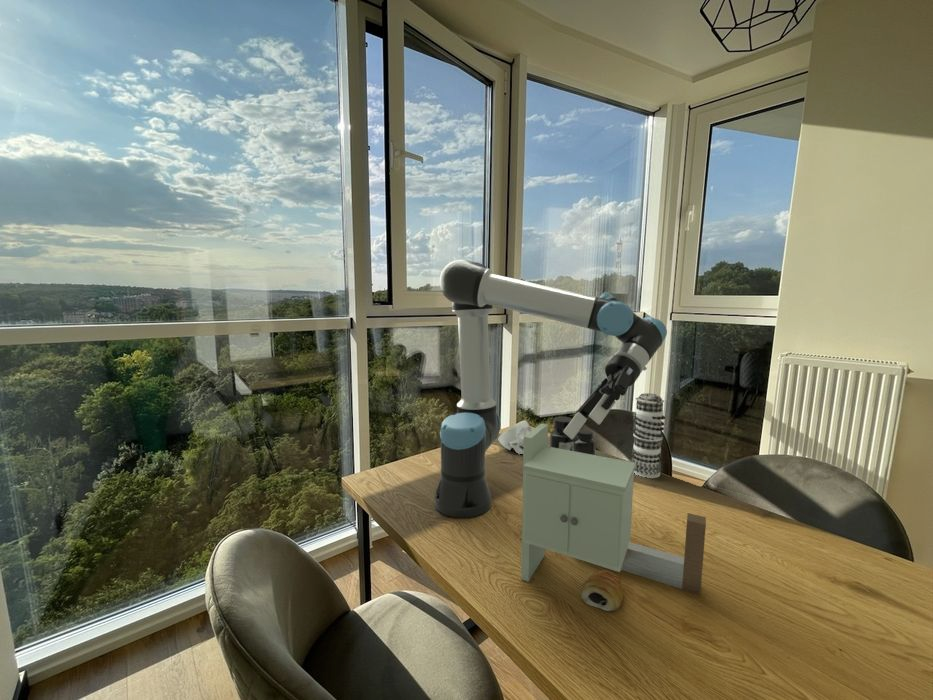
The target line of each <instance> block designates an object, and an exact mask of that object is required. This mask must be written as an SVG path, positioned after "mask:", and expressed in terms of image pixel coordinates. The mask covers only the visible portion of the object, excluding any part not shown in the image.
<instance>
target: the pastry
mask: <svg viewBox="0 0 933 700" xmlns="http://www.w3.org/2000/svg"><path fill="white" fill-rule="evenodd" d="M623 596H624V588H623V584H622V580H621V578H620V576H618V575H617V574H616V573H613V572H611V571H610V570H606V569H603V570H600V571H599V570H598V571H596V572H594V573H592V574H591V575H590V576H589V577H588V578H587V580H585V581H584V582H583V585H582V590H581V593H580V598H581V599H582V600H583V602H584V603H586V604H587V605H589V606H591V607H594V608H596V609H601V610H603V611H606V612H614V611H616V610H618V609H619V608H620V606H621V605H622V601H623Z"/></svg>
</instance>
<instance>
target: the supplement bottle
mask: <svg viewBox="0 0 933 700" xmlns="http://www.w3.org/2000/svg"><path fill="white" fill-rule="evenodd" d="M593 435H594V433H593V431H592V430H588V429H580V430H579V431H578V433H577V434H576V439H575V440H574V448H573V451H575V452H580V453H586V454H591V455H596V446H597V445H596V442H595V440H594V439H593V438H594V436H593Z"/></svg>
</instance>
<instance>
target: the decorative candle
mask: <svg viewBox="0 0 933 700" xmlns="http://www.w3.org/2000/svg"><path fill="white" fill-rule="evenodd" d="M635 400H636V404H635V405H636V407H635V409H634V410H635V411H634V413H632V416H633V419H632V422H633V425H632V426H633V428H632V433H633V434H632V435H633V437H634V442H633V448H632V450H631V452H632V454H631V457H632V458H631V460H630V462H634V463H636V467H635V470H634V473H635V474H634V475H635V476H638V475H639V476H638V477H641V476H642V477H641V478H645V477H647V478H646V479H657V478H660V476H661V467H662V463H661V461H662V456H663V453H662V452H661V451H662V446H661V441H663V437H664V434H663V433H662V431H664V430H665V427H663V426H665V422H663V421H664V420H665V419H666V416H665V415H664V414H665V413H664V410H663V408H664V402H665V400H664V399H662V397H661V396H660V395H658V394H655V393H647V392H646V393H641V394H639V395H638V397H635Z"/></svg>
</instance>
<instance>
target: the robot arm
mask: <svg viewBox="0 0 933 700" xmlns="http://www.w3.org/2000/svg"><path fill="white" fill-rule="evenodd" d="M439 288H440V291H441V292H442V295H443V296H444V297H445V298H446V299H447V300H448V301H450V302H451V312H452V313H454V315H456V317H457V327H458V329H457V331H458V350H459V353H458V354H459V368H460V369H459V370H460V391H461V398H460V400H459V401H458V402H457V403H456V413H455V414H451V415H449V416H447V417H446V418H444V419H443V421H442V422H441V425H440V432H439V438H440V479H439V481H438V485H437V488H436V491H435V494H434V507H435V509H436V510H437V511H438V512H439V513H440V514H443V515H445V516H446V517H448V516H449V517H452V518H458V519H466V518H468V519H469V518H474V517H478V516H481V515H483V514H486V513H487V512H488V511H489V510H490V508H492V494H491V491H490V488H489V484H488V482H487V478H486V452H487V450H488V449H489V448H490V446H491V445H492V444H493V443H494V442H495V441H496V439H498V437H499V433H500V430H501V424H502V423H501V418H500V415H499V413H498V412H497V402H496V401H495V400H494V399H493V398H492V397H491V395H492V393H491V371H490V370H491V369H490V368H491V367H490V347H489V342H490V340H489V339H490V338H489V317H488V316H489V315H490V313H491V312H492V311H493V309H494V308H493V307H497V308H500V309H501V308H502V309H506V310H510V311H514V312H518V313H522V314H526V315H527V314H528V315H529V316H530V315H531V316H534V317H539V318H543V319H548V320H551V321H555V322H559V323H564V324H569V325H572V326H577V327H579V328H580V327H581V328H585V329H589V330H593V331H597V332H600V333H604V334H605V335H607V336H611V337H612V336H613V337H615V338H616V339H617V340H619V341H620V342H622V344H621V345H620V346H619V348H618V349H617V350H616V352H615V353H614V354H613V356H612V357H611V359H610V360H609V361H608V362H607V363H606V365H605V367H604V373H605V375H606V377H604V379H603V380H602V381H601V382H600V384H598V385H597V387H596V389H594V391H593V392H592V393H591V394H590V396H589V397H588V398H587V399H586V400H585V401H584V402H583V404H582V405H581V406H580V407H579V408H578V409H577V410H576V411H575V413H574V414H575V415H574V416H573V418H572V420H571V422H570V423H569V424H568V426H567V427H566V428H565V429H564V431H563V432H564V433H565V434H566V435H567V436H568V437H569V438H571V439H573V438H574V437H575V435H576V436H577V433H578V431H579V430H582V427H583V426H584V424H585V423H588V422H589V419H588V418H590V419H591V420H593V422H595V423H596V424H597V425H601V423H602V422H603V421H604V419H606V417H607V415H608V414H609V412H610V411H611V410H612V408H613V407H614V405H615V404H616V403H617V401H618V400H620V398H621V397H623V396H625V395H626V393H627V391H628V389H629V387H631V386H633V385H634V384H635V383H636V381H637V380H638V378H639V377H640V375H641V374H642V373H643V371H644V372H645V371H646V370H647V369H648V368H647V365H648V363H649V362H650V360H651V359H652V358H653V356H655V354H656V352H658V350H659V349H660V347H662V344H663V343H664V341H665V339H666V337H667V334H668V329H667V326H666V325H665V323H664V322H663V321H661V320H660V319H659V318H655V317H653V316H646V317H644V318H641V317H640V316H639V315H637V314H636V313H635V312H634V311H633V310H632V308H631V306H629V305H628V304H627V303H626V302H623V301H620V300H619V299H618V298H617V297H616V296H613V295H612V294H611V293H610V292H606V291H605V292H603V293H602V294H601V295H600V296H599V297H598V296H594V295H591V294H585V293H581V292H577V291H572V290H568V289H567V290H566V289H563V288H557V287H554V286H550V285H546V284H539V283H535V282H531V281H526V280H522V279H518V278H515V277H510V276H509V277H508V276H504V275H501V274H500V275H499V274H494V273H493V271H492V270H491V268H488V267H487V266H486V265H484V264H483V263H480V262H476V261H471V260H467V259H455V260H453V261H451V262H449V263H447V264H446V266H445V267H444V268H443V269H442V271H441V273H440V276H439Z"/></svg>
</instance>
